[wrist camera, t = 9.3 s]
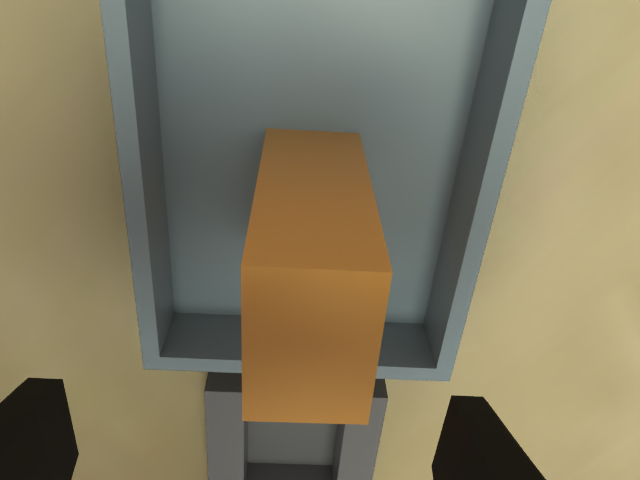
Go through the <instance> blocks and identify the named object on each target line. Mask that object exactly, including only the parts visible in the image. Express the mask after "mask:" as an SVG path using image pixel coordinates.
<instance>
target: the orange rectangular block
mask: <svg viewBox="0 0 640 480" xmlns="http://www.w3.org/2000/svg"><path fill="white" fill-rule="evenodd" d="M392 274H393V272H392V268H391V263H390V259H389V255H388V251H387V247H386V242H385V238H384V234H383V230H382V226H381V221H380V217H379V213H378V209H377V204H376V200H375V196H374V192H373V188H372V183H371V179H370V175H369V171H368V167H367V162H366V158H365V154H364V150H363V146H362V141H361V137H360V133H344V132H326V131H308V130H291V129H273V128H267V129H266V134H265V139H264V145H263V150H262V155H261V161H260V166H259V171H258V177H257V182H256V187H255V193H254V198H253V204H252V209H251V214H250V220H249V225H248V230H247V236H246V241H245V246H244V252H243V257H242V262H241V339H242V421H256V422H290V423H324V424H359V425H368V423H369V417H370V411H371V404H372V398H373V392H374V386H375V379H376V373H377V367H378V361H379V355H380V348H381V342H382V336H383V330H384V323H385V317H386V311H387V305H388V298H389V292H390V286H391V280H392Z"/></svg>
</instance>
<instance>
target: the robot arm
mask: <svg viewBox="0 0 640 480" xmlns="http://www.w3.org/2000/svg"><path fill="white" fill-rule="evenodd" d="M78 455H79V453H78V449H77V444H76V439H75V435H74V430H73V426H72V421H71V416H70V412H69V407H68V402H67V398H66V393H65V388H64V384H63V379H44V378H28V379H26V380H25V381H24V382H23V383H22V384H21V385H19V386H18V387H17V388H16V389H15V390H14V391H13V392H12V393H11V394H10V395H8V396H7V397H6V398H5V399H4V400H3V401H2V402H1V403H0V480H71V478H72V475H73V471H74V468H75V465H76V461H77V458H78ZM432 472H433V480H546V479H545V478H544V476H543V475H542V474H541V473H540V471H539V470H538V469H537V468H536V466H535V465H534V464H533V462H532V461H531V460H530V458H529V457H528V456H527V454H526V453H525V452H524V451H523V449H522V448H521V447H520V445H519V444H518V443H517V441H516V440H515V439H514V437H513V436H512V435H511V433H510V432H509V431H508V429H507V428H506V426H505V425H504V424H503V422H502V421H501V420H500V418H499V417H498V416H497V414H496V413H495V412H494V410H493V409H492V407H491V406H490V405H489V403H488V402H487V401H486V400H485V399H484V397H475V396H451V399H450V403H449V406H448V410H447V413H446V417H445V420H444V424H443V428H442V431H441V435H440V438H439V442H438V445H437V449H436V453H435V456H434V460H433V463H432Z"/></svg>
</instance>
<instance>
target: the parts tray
mask: <svg viewBox="0 0 640 480" xmlns="http://www.w3.org/2000/svg"><path fill="white" fill-rule="evenodd" d="M550 4H551V0H100V7H101V15H102V24H103V32H104V40H105V49H106V57H107V65H108V74H109V82H110V91H111V99H112V107H113V116H114V124H115V133H116V141H117V149H118V158H119V166H120V175H121V183H122V191H123V200H124V208H125V216H126V225H127V233H128V242H129V250H130V258H131V267H132V275H133V284H134V292H135V300H136V309H137V317H138V326H139V334H140V342H141V351H142V359H143V367H144V369H152V370H177V371H202V372H227V373H242V339H241V262H242V257H243V252H244V246H245V241H246V236H247V230H248V225H249V220H250V214H251V209H252V204H253V198H254V193H255V187H256V182H257V177H258V171H259V166H260V161H261V155H262V150H263V145H264V139H265V134H266V129H267V128H273V129H291V130H308V131H326V132H344V133H360V137H361V141H362V146H363V150H364V154H365V158H366V162H367V167H368V171H369V175H370V179H371V183H372V188H373V192H374V196H375V200H376V204H377V209H378V213H379V217H380V221H381V226H382V230H383V234H384V238H385V242H386V247H387V251H388V255H389V259H390V263H391V268H392V272H393V274H392V280H391V286H390V292H389V298H388V305H387V311H386V317H385V323H384V330H383V336H382V342H381V348H380V355H379V361H378V367H377V373H376V379H400V380H425V381H450V378H451V374H452V370H453V367H454V363H455V359H456V355H457V352H458V348H459V344H460V340H461V337H462V333H463V329H464V325H465V322H466V318H467V314H468V311H469V307H470V303H471V299H472V296H473V292H474V288H475V284H476V281H477V277H478V273H479V269H480V266H481V262H482V258H483V254H484V251H485V247H486V243H487V240H488V236H489V232H490V228H491V225H492V221H493V217H494V213H495V210H496V206H497V202H498V198H499V195H500V191H501V187H502V183H503V180H504V176H505V172H506V169H507V165H508V161H509V157H510V154H511V150H512V146H513V142H514V139H515V135H516V131H517V127H518V124H519V120H520V116H521V112H522V109H523V105H524V101H525V98H526V94H527V90H528V86H529V83H530V79H531V75H532V71H533V68H534V64H535V60H536V56H537V53H538V49H539V45H540V41H541V38H542V34H543V30H544V27H545V23H546V19H547V15H548V12H549V8H550Z"/></svg>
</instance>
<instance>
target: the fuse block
mask: <svg viewBox="0 0 640 480" xmlns="http://www.w3.org/2000/svg"><path fill="white" fill-rule="evenodd" d="M204 395H205V418H206V440H207V463H208V480H372V478H373V473H374V467H375V462H376V457H377V452H378V447H379V442H380V436H381V431H382V426H383V421H384V416H385V411H386V405H387V400H388V396H387V390H386V384H385V379H375V386H374V392H373V398H372V404H371V411H370V417H369V423H368V425H359V424H324V423H290V422H256V421H242V373H227V372H208V376H207V381H206V386H205V390H204Z"/></svg>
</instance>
